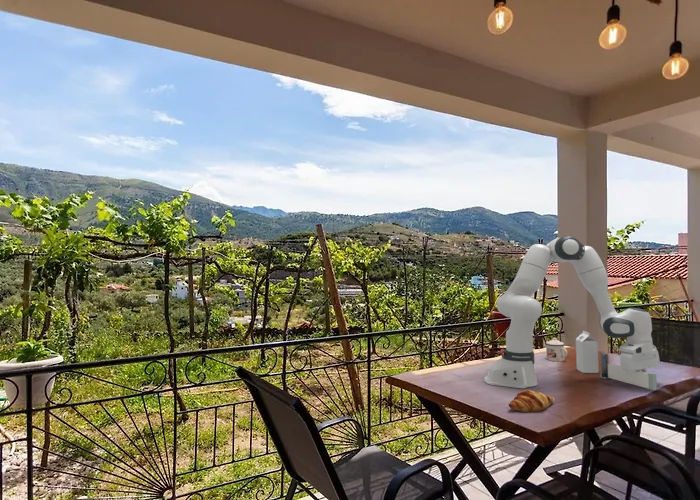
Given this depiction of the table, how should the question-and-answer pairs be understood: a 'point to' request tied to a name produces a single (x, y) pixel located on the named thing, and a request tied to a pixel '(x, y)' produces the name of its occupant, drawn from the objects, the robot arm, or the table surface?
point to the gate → (633, 377)
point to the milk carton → (587, 353)
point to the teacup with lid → (555, 350)
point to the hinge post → (604, 367)
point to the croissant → (530, 401)
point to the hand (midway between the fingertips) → (641, 379)
